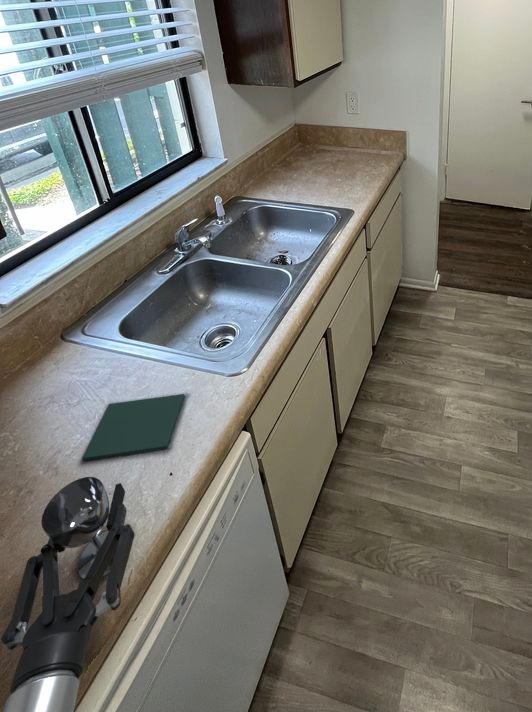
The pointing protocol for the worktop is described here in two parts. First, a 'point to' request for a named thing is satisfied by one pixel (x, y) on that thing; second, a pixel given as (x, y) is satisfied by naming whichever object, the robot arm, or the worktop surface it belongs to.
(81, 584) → the robot arm
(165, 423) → the mat
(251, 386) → the worktop surface
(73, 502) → the wine glass
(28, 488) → the worktop surface
